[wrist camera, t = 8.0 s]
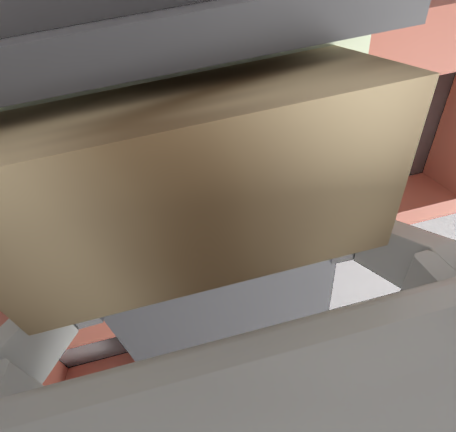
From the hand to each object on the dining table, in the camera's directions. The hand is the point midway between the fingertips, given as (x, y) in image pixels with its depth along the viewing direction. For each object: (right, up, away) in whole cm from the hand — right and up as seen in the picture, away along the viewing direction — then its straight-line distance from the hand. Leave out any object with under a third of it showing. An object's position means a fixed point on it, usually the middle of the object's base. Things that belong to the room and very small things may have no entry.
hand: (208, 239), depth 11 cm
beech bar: (-1, +3, -1) cm, 3 cm away
